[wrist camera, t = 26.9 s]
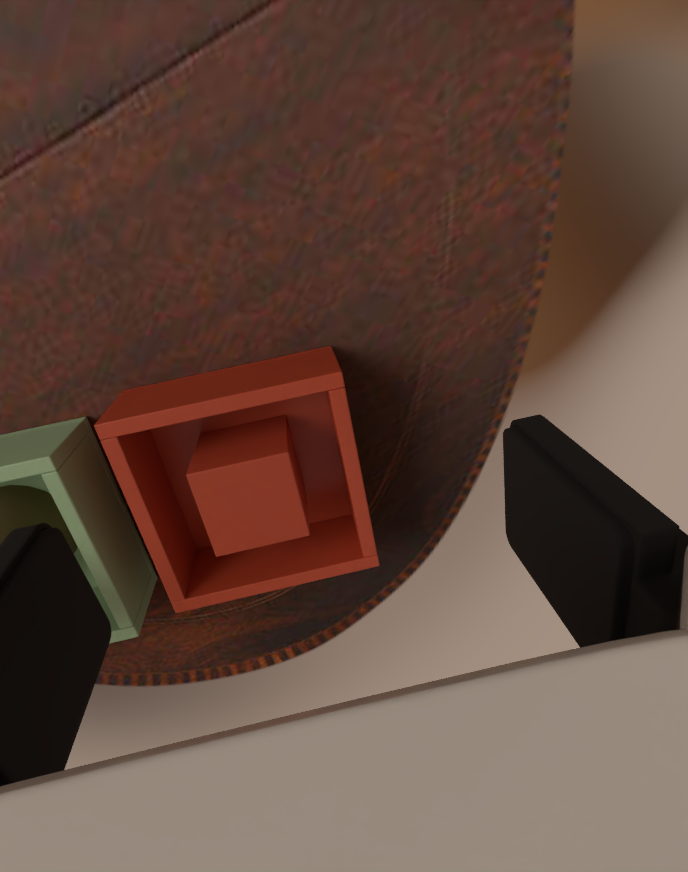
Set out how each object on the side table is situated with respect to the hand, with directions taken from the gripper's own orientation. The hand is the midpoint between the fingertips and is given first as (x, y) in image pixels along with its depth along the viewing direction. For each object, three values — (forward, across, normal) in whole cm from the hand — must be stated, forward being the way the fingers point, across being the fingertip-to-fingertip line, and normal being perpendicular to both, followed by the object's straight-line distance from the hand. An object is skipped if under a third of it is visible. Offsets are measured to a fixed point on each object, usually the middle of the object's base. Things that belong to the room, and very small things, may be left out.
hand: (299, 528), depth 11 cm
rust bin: (+18, +3, +8) cm, 20 cm away
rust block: (+18, +3, +7) cm, 19 cm away
